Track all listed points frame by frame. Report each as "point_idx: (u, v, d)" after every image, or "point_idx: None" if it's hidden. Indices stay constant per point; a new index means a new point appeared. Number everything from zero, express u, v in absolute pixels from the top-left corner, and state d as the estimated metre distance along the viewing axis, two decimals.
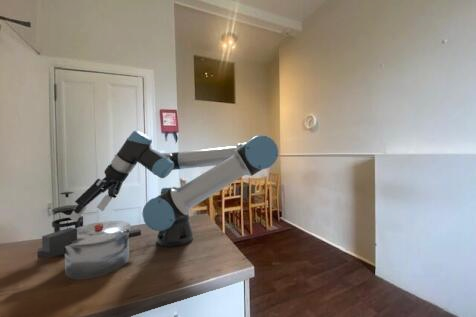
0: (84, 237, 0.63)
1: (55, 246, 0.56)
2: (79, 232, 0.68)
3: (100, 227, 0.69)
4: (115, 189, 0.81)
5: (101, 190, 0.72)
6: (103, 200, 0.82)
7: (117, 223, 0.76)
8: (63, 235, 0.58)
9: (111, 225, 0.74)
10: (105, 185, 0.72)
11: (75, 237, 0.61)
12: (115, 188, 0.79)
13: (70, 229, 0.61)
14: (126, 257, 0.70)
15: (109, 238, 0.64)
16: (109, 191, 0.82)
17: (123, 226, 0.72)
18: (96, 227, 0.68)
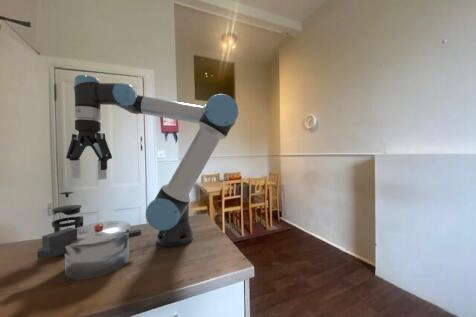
0: (84, 237, 0.63)
1: (55, 246, 0.56)
2: (79, 232, 0.68)
3: (100, 227, 0.69)
4: None
5: (99, 144, 0.73)
6: (74, 167, 0.75)
7: (117, 223, 0.76)
8: (63, 235, 0.58)
9: (111, 225, 0.74)
10: (97, 139, 0.73)
11: (75, 237, 0.61)
12: None
13: (70, 229, 0.61)
14: (126, 257, 0.70)
15: (109, 238, 0.64)
16: (76, 154, 0.75)
17: (123, 226, 0.72)
18: (96, 227, 0.68)
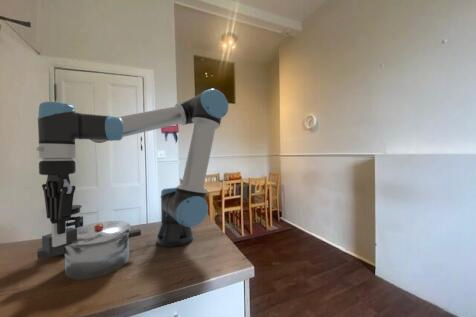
0: (84, 237, 0.63)
1: None
2: (79, 232, 0.68)
3: (100, 227, 0.69)
4: None
5: None
6: None
7: (117, 223, 0.76)
8: None
9: (111, 225, 0.74)
10: None
11: (75, 237, 0.61)
12: None
13: (70, 229, 0.61)
14: (126, 257, 0.70)
15: (109, 238, 0.63)
16: None
17: (123, 226, 0.72)
18: (96, 227, 0.68)
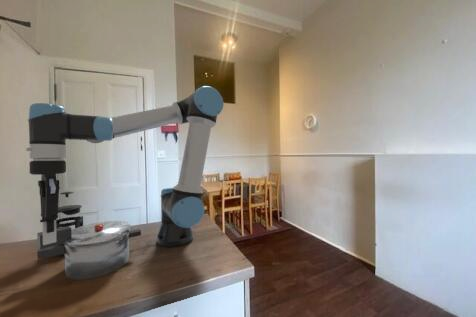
0: (80, 236, 0.64)
1: None
2: (82, 230, 0.69)
3: (99, 227, 0.68)
4: None
5: None
6: None
7: (120, 224, 0.75)
8: None
9: (113, 225, 0.74)
10: None
11: (69, 236, 0.62)
12: None
13: (65, 228, 0.62)
14: (126, 257, 0.70)
15: (99, 241, 0.62)
16: None
17: (122, 228, 0.70)
18: (95, 227, 0.68)
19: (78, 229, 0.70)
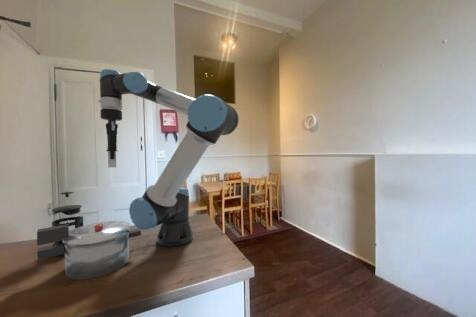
0: (77, 235, 0.64)
1: (43, 241, 0.60)
2: (85, 228, 0.71)
3: (98, 227, 0.68)
4: None
5: None
6: None
7: (122, 225, 0.74)
8: (52, 231, 0.61)
9: (115, 226, 0.73)
10: None
11: (66, 234, 0.63)
12: None
13: (64, 226, 0.63)
14: (126, 257, 0.70)
15: (88, 242, 0.60)
16: None
17: (118, 231, 0.68)
18: (95, 227, 0.68)
19: (83, 227, 0.72)
